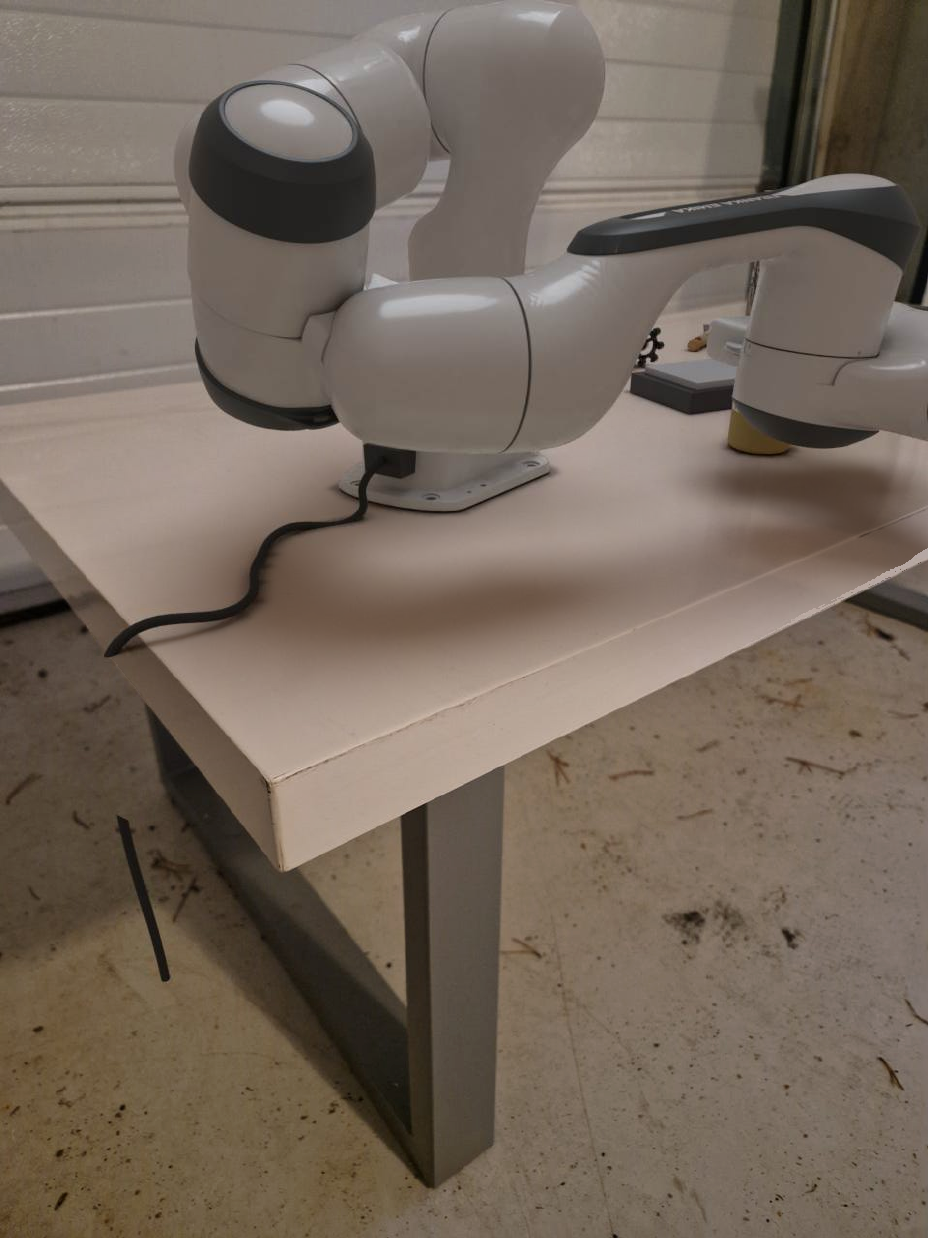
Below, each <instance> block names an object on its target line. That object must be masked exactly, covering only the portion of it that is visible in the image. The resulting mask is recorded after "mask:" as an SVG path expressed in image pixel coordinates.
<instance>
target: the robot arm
mask: <svg viewBox="0 0 928 1238" xmlns="http://www.w3.org/2000/svg"><path fill="white" fill-rule="evenodd" d="M605 85H606V60H605V54H604V49H603V46H602V41H601V39H600V36H599V33H598V32H597V30H596V27H595V26H594V24H593V22H592V20H591V19H590V18H589V17H588V15H587V14H586V12H585V11H583V10H582V9H581V8H579V7H578V6H576V5H571V4H567V3H566V4H565V3H560V2H555V1H548V0H503V1H496V2H489V3H482V4H475V5H467V6H463V7H462V6H461V7H454V8H453V7H452V8H447V9H446V8H445V9H439V10H431V11H426V12H425V11H424V12H418V13H410V14H405V15H398V16H396V17H393V18H390V19H388V20H385V21H382V22H381V23H379V24H376V25H374V26H372V27H369V28H368V29H365V30H363V31H361V32H360V33H358V34H355V35H354V36H352V38H350V40H349V41H348V42H347V43H345V44H343V45H340V46H336V47H334V48H331V49H328V50H325V51H322V52H319V53H317V54H314V55H311V56H308V57H304V58H302V59H299V60H295V61H293V62H291V63H287V64H285V65H282V66H281V65H280V66H279V67H276V68H273V69H271V70H269V71H266V72H263V73H261V74H259V75H257V76H255V77H253V78H250V79H249V80H247V81H244V82H242V83H238V84H236V85H234V86H232V87H230V88H228V89H226V90H225V91H224V92H223V93H221V94H220V95H218V96H217V97H216V98H215V99H213V100H212V101H211V102H210V103H208V104H207V105H206V106H204V107H203V108H202V109H201V110H199V111H197V113H195V114H194V115H193V116H192V117H190V118H189V120H187V121H186V123H185V124H184V125H183V127H182V128H181V129H180V131H179V134H178V136H177V139H176V143H175V147H174V152H173V175H174V180H175V185H176V189H177V193H178V196H179V198H180V201H181V203H182V205H183V208H184V209H185V211H186V213H187V215H188V225H187V245H186V246H187V252H186V254H187V263H186V264H187V266H186V267H187V268H186V269H187V275H188V279H189V283H190V296H191V305H192V313H193V320H194V321H193V322H194V327H195V333H196V337H195V340H194V354H195V359H196V363H197V367H198V372H199V375H200V378H201V380H202V382H203V385H204V388H205V390H206V392H207V395H208V396H209V398H210V399H211V401H212V402H213V403H214V404H215V405H216V406H217V407H218V408H219V409H220V410H221V411H223V413H224V414H226V415H229V416H230V417H232V418H233V419H235V420H238V421H239V422H240V421H241V422H243V423H245V424H247V425H251V426H253V427H256V428H261V429H264V430H265V429H266V430H273V431H281V432H282V431H283V432H296V431H297V432H298V431H305V430H310V431H315V430H322V429H327V428H330V427H333V426H335V425H337V424H341V425H342V426H343V428H344V429H345V430H346V431H347V432H348V433H349V434H351V435H352V436H353V437H355V438H357V439H358V440H360V441H362V447H361V449H362V450H361V451H362V453H361V454H362V455H361V457H362V460H361V461H360V462H358V464H356V465H355V466H354V467H352V468H351V469H349V470H348V471H347V472H345V473H344V474H343V475H341V476H340V477H339V481H338V487H339V489H341V491H343V492H345V493H346V494H348V495H350V496H352V497H355V498H358V502H359V506H358V509H357V510H356V511H355V512H354V513H353V514H351V515H350V516H349V517H346V518H344V519H339V520H335V521H334V520H333V521H311V520H310V521H307V520H306V521H294V522H289V523H286V524H283V525H282V526H280V527H277V528H276V529H275V530H273V531H271V532H270V533H269V534H268V535H267V536H266V537H265V538H264V540H263V541H262V543H261V545H260V547H259V549H258V552H257V554H256V555H255V558H254V560H253V561H252V563H251V565H250V569H249V587H248V590H247V593H246V594H245V595H244V597H242V599H240V600H239V601H237V602H235V603H234V604H232V605H230V606H227V607H224V608H220V609H215V610H207V611H206V610H205V611H194V612H178V613H177V612H176V613H167V614H161V615H160V614H159V615H155V616H152V617H147V618H144V619H142V620H139V621H137V622H134V623H133V624H131V625H129V626H128V627H126V628H125V629H123V630H122V631H121V632H120V633H119V634H118V635H116V636H115V638H113V640H112V641H111V643H110V644H109V645H108V646H107V648H106V649H105V652H104V654H103V657H104V658H108V659H109V658H112V657H115V656H116V655H118V654H119V652H121V650H122V648H123V647H124V646H125V645H126V644H127V643H128V642H129V641H130V640H132V639H133V638H134V637H137V636H138V635H140V634H141V633H143V632H146V631H148V630H151V629H154V628H159V627H165V626H172V625H173V626H174V625H184V624H185V625H186V624H200V623H211V622H217V621H224V620H226V619H229V618H234V617H235V616H237V615H238V614H241V613H243V612H244V611H245V610H246V609H248V608H249V607H250V606H251V605H252V604H253V603H254V602H255V601H256V599H257V598H258V596H259V591H260V572H261V569H262V567H263V565H264V563H265V561H266V559H267V557H268V554H269V552H270V549H271V547H272V545H273V544H274V542H276V541H277V540H278V539H280V538H282V537H283V536H286V535H287V534H289V533H291V532H294V531H305V530H317V529H322V528H328V527H335V526H341V525H346V524H352V523H356V522H358V521H360V520H361V519H362V518H363V517H364V516H365V514H366V513H367V511H368V507H369V506H368V505H369V502H372V503H377V504H381V505H385V506H390V507H396V508H403V509H409V510H416V511H418V510H419V511H430V512H456V511H461V510H464V509H467V508H469V507H471V506H474V505H476V504H478V503H480V502H483V501H485V500H487V499H491V498H493V497H495V496H497V495H500V494H501V493H504V492H507V491H509V490H511V489H513V488H516V487H518V486H521V485H523V484H525V483H527V482H530V481H532V480H534V479H536V478H539V477H541V476H543V475H546V474H548V473H550V471H551V466H550V460H549V459H548V458H547V457H545V456H544V455H541V453H540V451H545V450H551V449H554V448H558V447H562V446H564V445H568V444H571V443H572V442H575V441H576V440H578V439H580V438H582V437H584V436H585V435H586V434H587V433H588V432H589V431H590V430H592V429H593V428H595V426H596V425H597V424H598V423H600V421H601V420H602V419H603V418H604V417H605V416H606V415H607V414H608V412H609V411H610V410H611V409H612V407H613V406H614V405H615V404H616V402H617V400H618V399H619V397H620V396H621V394H622V392H623V391H624V389H625V388H626V385H627V384H628V382H629V380H630V378H631V373H633V370H634V368H635V365H636V364H637V362H638V360H639V359H638V357H639V354H640V352H642V351H641V350H642V348H643V346H644V344H645V342H646V340H647V339H648V338H649V337H650V335H649V334H650V332H651V330H652V331H653V329H654V328H655V327H654V326H655V325H656V323H657V322H658V319H659V318H660V316H661V315H662V313H663V311H664V310H665V308H666V307H667V306H668V304H669V302H670V301H671V300H672V298H673V297H674V295H675V294H676V293H677V291H678V290H679V289H680V288H681V287H682V286H683V285H684V284H685V283H686V282H687V281H688V280H690V279H691V278H693V277H694V276H696V275H698V274H700V273H703V272H705V271H711V270H715V269H716V270H717V269H721V268H726V267H732V266H738V265H743V264H744V265H745V264H749V263H753V262H756V261H760V272H759V277H758V282H757V286H756V290H755V295H754V299H753V304H752V308H751V313H750V316H745V315H734V316H733V315H731V316H729V315H727V316H717V317H715V318H712V319H711V321H710V322H709V324H710V326H709V331H708V337H707V343H706V355H707V356H708V357H709V359H711V358H712V359H714V360H717V361H719V362H722V363H725V364H727V365H730V366H734V367H737V372H736V377H735V382H734V388H733V395H732V396H731V397H732V400H733V402H734V404H735V406H736V408H737V410H738V411H739V412H740V414H741V415H742V416H743V417H744V418H745V420H746V421H747V422H748V423H749V424H750V425H751V426H752V427H753V428H754V429H756V430H757V431H759V432H761V433H763V434H764V435H767V436H769V437H771V438H773V439H776V440H778V441H781V442H784V443H787V444H791V446H795V447H801V448H808V449H820V450H821V449H823V450H824V449H825V450H826V449H827V450H828V449H839V448H845V447H848V446H851V445H854V444H857V443H860V442H863V441H864V440H867V439H869V438H871V437H873V436H875V435H877V434H878V433H880V431H883V432H888V433H893V434H897V435H901V436H903V437H909V438H912V439H914V440H915V439H916V440H918V441H919V440H920V441H924V442H927V443H928V305H927V306H925V305H912V304H911V305H910V304H904V303H901V302H898V301H895V300H896V296H897V293H898V289H899V286H900V283H901V280H902V277H903V276H904V275H905V274H906V271H907V268H908V266H909V264H910V261H911V259H912V256H913V253H914V250H915V247H916V245H917V243H918V240H919V237H920V236H921V233H922V230H923V227H922V224H921V222H920V219H919V215H918V214H917V212H916V211H917V210H916V209H915V207H914V205H913V203H912V201H911V199H910V197H909V196H908V194H907V192H906V190H905V189H904V188H903V187H902V185H901V184H900V183H898V182H897V183H895V182H892V181H891V180H889V179H887V178H884V177H881V176H878V175H872V174H866V173H839V174H830V175H825V176H821V177H818V178H813V179H811V180H808V181H806V182H803V183H800V184H796V185H790V186H786V187H781V188H777V189H772V190H773V191H768V192H767V191H763V192H757V193H751V194H745V195H738V196H732V197H731V196H730V197H725V198H718V199H717V198H716V199H712V200H705V201H697V202H692V203H684V204H679V205H672V206H667V207H666V206H665V207H661V208H654V209H649V210H644V211H638V212H634V213H629V214H623V215H620V216H619V215H618V216H615V217H610V218H606V219H603V220H600V221H597V222H594V223H592V224H589V225H587V226H585V227H583V228H581V229H579V230H578V231H577V232H576V234H575V235H574V237H573V238H572V239H571V241H570V243H569V244H568V246H567V247H566V250H565V251H564V252H563V253H562V254H560V255H559V256H557V257H556V258H554V259H553V260H552V261H551V262H549V263H547V264H545V265H543V266H541V267H540V268H537V269H535V270H533V271H530V272H527V273H525V269H526V267H525V266H526V255H527V245H528V244H527V243H528V237H529V231H530V227H531V224H532V223H531V222H532V218H533V214H534V212H535V209H536V206H537V204H538V201H539V198H540V197H541V193H542V191H543V189H544V187H545V185H546V183H547V181H548V179H549V178H550V176H551V174H552V172H553V171H554V170H555V169H556V167H557V165H558V164H559V163H560V162H561V160H562V159H563V157H565V155H566V154H567V153H568V152H569V151H570V150H571V149H572V148H573V147H575V145H576V144H578V142H580V141H581V140H582V139H583V138H584V136H585V135H586V134H587V133H588V131H589V129H590V128H591V126H592V124H593V123H594V121H595V119H596V117H597V115H598V113H599V110H600V107H601V104H602V101H603V97H604V93H605ZM444 161H449V166H448V167H449V168H448V173H447V178H446V181H445V184H444V187H443V190H442V192H441V195H440V197H439V199H438V201H437V202H436V204H435V205H434V206H433V208H431V209H429V210H428V211H426V212H425V213H424V214H422V215H421V216H420V217H419V218H418V219H417V220H416V221H415V222H414V223H413V225H412V227H411V229H410V231H409V233H408V237H407V243H406V252H407V253H406V254H407V281H406V282H397V281H395V280H391V279H390V278H387V277H384V276H382V275H380V274H377V273H375V272H373V273H372V275H371V279H370V282H369V284H368V286H367V287H366V285H365V284H366V279H367V269H368V259H369V258H368V257H369V247H370V231H371V230H370V229H371V220H372V219H373V217H374V215H375V213H377V212H379V211H381V210H383V209H385V208H386V207H389V206H391V205H392V204H395V203H396V202H398V201H400V200H401V199H404V198H405V197H408V196H409V195H411V194H412V193H413V192H414V191H415V190H416V189H417V188H418V186H419V185H420V184H421V182H422V180H423V178H424V176H425V175H426V172H427V169H428V165H429V164H430V163H435V162H444ZM115 816H116V820H117V821H116V822H117V825H118V831H119V833H120V834H119V835H120V838H121V843H122V847H123V850H124V854H125V858H126V862H127V866H128V869H129V872H130V876H131V878H132V882H133V886H134V889H135V892H136V895H137V898H138V901H139V902H138V903H139V904H140V908H141V911H142V914H143V918H144V920H145V924H146V927H147V931H148V934H149V938H150V941H151V945H152V949H153V952H154V956H155V960H156V964H157V968H158V972H159V976H160V980H161V982H163V983H167V982H168V981H169V982H170V980H171V974H170V969H169V964H168V961H167V956H166V953H165V949H164V945H163V941H162V937H161V933H160V930H159V927H158V923H157V920H156V916H155V913H154V909H153V906H152V902H151V899H150V896H149V893H148V890H147V886H146V883H145V879H144V875H143V872H142V869H141V866H140V865H141V864H140V862H139V859H138V855H137V854H138V853H137V850H136V847H135V843H134V838H133V834H132V831H131V827H130V820H129V819H126V818H125V817H122V816H121V815H118V814H116V815H115Z"/></svg>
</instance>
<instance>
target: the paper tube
mask: <svg viewBox="0 0 928 1238" xmlns="http://www.w3.org/2000/svg"><path fill="white" fill-rule="evenodd" d="M773 190H774V189H770V190H766V192H768V191H773ZM759 272H760V261H756V262H752V267H751V274H750V280H749V287H748V288H749V289H748V295H747V300H746V308H745V315H744V316H750V313H751V308H752V304H753V299H754V295H755V290H756V286H757V282H758V277H759ZM727 443H728V444H729V445H730V446H731V447H732V448H733V449H735V450H737V451H740V452H745V453H748V454H749V453H750V454H755V455H776V454H781V453H784V452H786V451H788V450H790V448H791V447H792V445H791V444H787V443H784V442H781V441H778V440H776V439H773V438H771V437H769V436H767V435H764V434H763V433H761V432H759V431H757V430H756V429H754V428H753V427H752V426H751V425H750V424H749V423H748V422H747V421H746V420H745V418H744V417H743V416H742V415H741V414H740V412H739V411H738V410H737V408H736V406H735V404H734V402H732V408H731V411H730V419H729V425H728V431H727Z"/></svg>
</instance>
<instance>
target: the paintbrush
mask: <svg viewBox="0 0 928 1238" xmlns="http://www.w3.org/2000/svg"><path fill="white" fill-rule="evenodd" d="M702 325H703V326H702V327H703V329H702V330H703V332H702V333H701V334H699V335H698V336H696V337H694V338H693V339H691V340H689V341H688V342H687V345H686V346H687V348H686V349H688V351H690V352H695V351H697V350H699V349H700V348H702V347H703V346H705V345H707V337H708V331H709V326H710V323H703V324H702Z"/></svg>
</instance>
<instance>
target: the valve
mask: <svg viewBox="0 0 928 1238" xmlns="http://www.w3.org/2000/svg"><path fill="white" fill-rule="evenodd" d="M660 334H662V329H661V328H660V327H659V326H658V327H653V328H652V330H651V332H650V334H649V337H648V338H647V340H646V342H645V344H644V346H643V348H642V350H641V352H644V351H646V350H647V349H648V348H649V347H650V343H651V342H652V348H651V350H650V351H649V352H648V353H646V354H643V353H641V352H640V354H639V357H638V359H637V361H636V364H637V366H638V367H643V366H646V364H647V359H649V362H650V363H655V362H657V361H658V360H659V355H658V354H657V353H656V352H657V350H658V351H661V350H663V349H664V348H665V345H666V344H665V343H664V341H662V340H661V341H659V340H658V336H660Z"/></svg>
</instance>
